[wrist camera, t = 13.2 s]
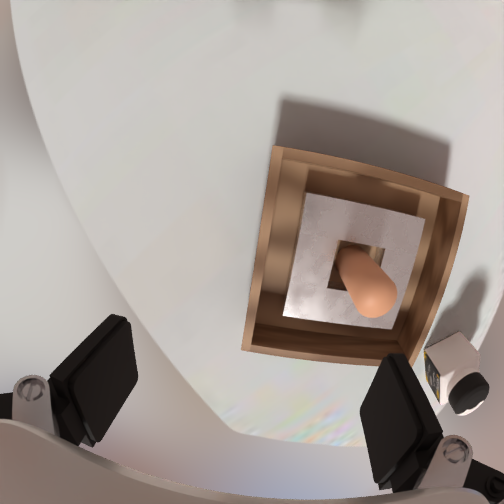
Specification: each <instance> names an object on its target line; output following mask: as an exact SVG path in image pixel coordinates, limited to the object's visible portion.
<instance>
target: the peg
mask: <svg viewBox="0 0 504 504" xmlns="http://www.w3.org/2000/svg"><path fill="white" fill-rule="evenodd" d="M335 266H336V269H337V271H338V273H339V275H340V277H341V279H342V281H343V283H344V285H345V286H346V288H347V290H348V292H349V294H350V296H351V298H352V300H353V302H354V304H355V306H356V308H357V310H358V312H359V313H360V314H362V315H363V316H365V317H369V318H376V317H380V316H382V315H384V314H386V313H387V312H388V311H389V310H390V309H391V308H392V307H393V306H394V304H395V302H396V299H397V288H396V285H395V283H394V282H393V281H392V280H391V279H390V277H389V276H388V275H387V274H386V273H385V272H384V271H383V270H382V269H381V268H380V267H379V266H378V264H377V263H376V262H375V261H374V260H373V259H372V258H371V257H370V256H369V255H368V254H367V253H366V252H365V251H364V250H363V249H362V248H361V247H359V246H356V245H349V246H346V247H344V248H342V249H341V250H340V251H339V252H338V254H337V256H336V259H335Z"/></svg>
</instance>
